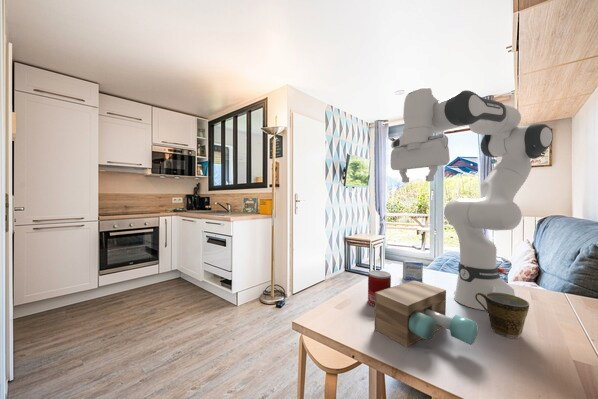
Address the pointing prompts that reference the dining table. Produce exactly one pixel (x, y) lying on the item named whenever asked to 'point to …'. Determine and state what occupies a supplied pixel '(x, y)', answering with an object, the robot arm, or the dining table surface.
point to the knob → (456, 326)
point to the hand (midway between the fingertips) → (416, 181)
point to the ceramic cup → (505, 313)
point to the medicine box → (412, 270)
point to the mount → (408, 311)
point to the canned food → (377, 283)
